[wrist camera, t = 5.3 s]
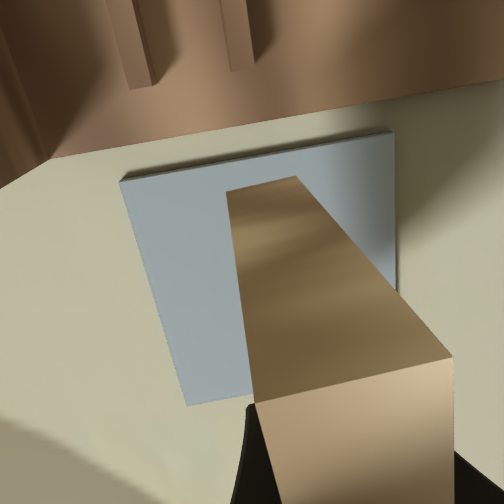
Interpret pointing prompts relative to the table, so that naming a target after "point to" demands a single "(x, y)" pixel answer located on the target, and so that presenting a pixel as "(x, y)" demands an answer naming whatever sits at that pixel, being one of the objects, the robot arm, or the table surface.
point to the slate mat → (222, 253)
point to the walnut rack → (219, 65)
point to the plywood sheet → (337, 360)
